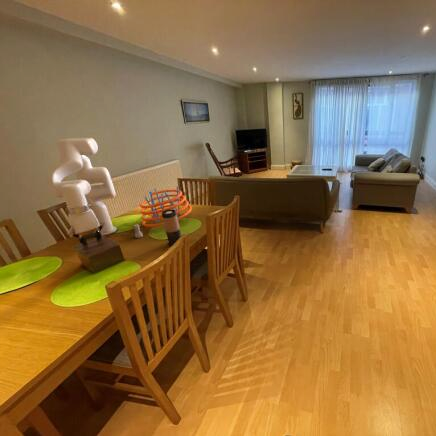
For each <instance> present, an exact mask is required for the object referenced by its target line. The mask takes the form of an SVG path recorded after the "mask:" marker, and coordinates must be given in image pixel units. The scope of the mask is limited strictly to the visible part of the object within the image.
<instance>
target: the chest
mask: <svg viewBox="0 0 436 436" xmlns="http://www.w3.org/2000/svg"><path fill="white" fill-rule="evenodd" d="M75 251H76V253H77V255H78V258H79V260H80V262H81V265H82V266H83V267H85V268H86V269H87V270H89V271H91V272H92V273H93V274H97V273H99V272H101V271H104V270H106V269H108V268H111V267H113V266H115V265H117V264H120V263H122V262H124V261H125V257H124V254H123V252H122V251H123V250H122V249H121V245H120V246H118V247H115V248H113V249H110V250H108V251H105V252H102V253H100V254H97V255H95V256H92V257H90V258H88V257H87V256H85V255H84V254H83V253H81V252H80V251H79V250H77V249H76V250H75Z"/></svg>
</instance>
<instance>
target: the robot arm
mask: <svg viewBox="0 0 436 436" xmlns="http://www.w3.org/2000/svg"><path fill="white" fill-rule="evenodd" d="M56 145H57V148H58V151H59V157H60V164H59V165H57V166H56V167H55V168H54V169H53V171H52V172H51V174H50V178H49V180H50V188H51V192H52V194H53V196H55V197H56V198H63V199H64V201H65V204H66V206H67V209H68V211H69V212H68V213H67V214H68V221H69V225H70V229H69V230H68V231H67V233H66V234H67V235H68V236H71V237H74V238H77V239H78V241H79V244H84V245H86V242H85V240H84V238H83V237H82V236H83V233H85V232H88V231H92V230H95V231H94V232H97V234H98V239H101V237H102V236H108V235H110V234H113V233H115V232H117V229H118V228H117V227H116V226H113V223H112V220H111V217H110V212H109V211H108V208H107V206H106V204H105V203H103V202H102V201H103V200H104V201H105V200H110V199H114V198H115V197H116V195H117V194H116V189H115V186H114V184H113V180H112V177H111V173H110V171H109V170H108V168H107V167H105V166H92V163H91V160H90V158H89V157H88V156H93V155H96V154H97V152H98V151H99V146H98V143H97V141H96V140H95V139H94V138H93V137H79V138H78V137H77V138H74V137H72V138H62V139H58V140H57V142H56ZM73 174H75V175H76V178H77V179H76V180H65V181H63V180H64V179H65V178H66V177H68V176H71V175H73ZM100 183H102V184H100ZM91 184H94V185H91ZM74 232H75V233H74Z"/></svg>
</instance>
